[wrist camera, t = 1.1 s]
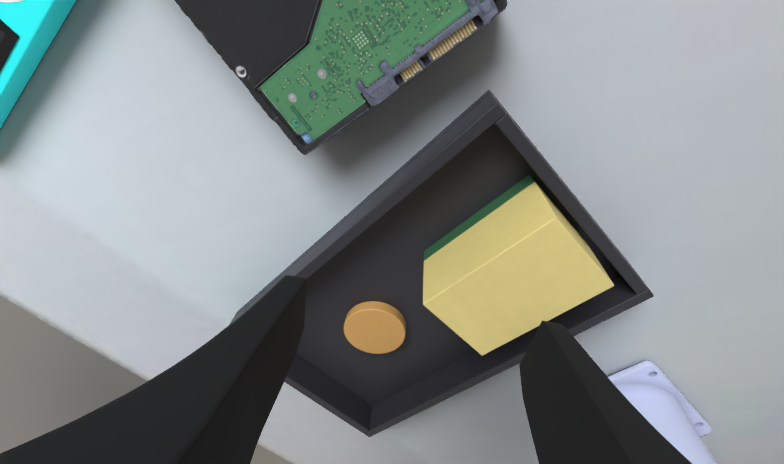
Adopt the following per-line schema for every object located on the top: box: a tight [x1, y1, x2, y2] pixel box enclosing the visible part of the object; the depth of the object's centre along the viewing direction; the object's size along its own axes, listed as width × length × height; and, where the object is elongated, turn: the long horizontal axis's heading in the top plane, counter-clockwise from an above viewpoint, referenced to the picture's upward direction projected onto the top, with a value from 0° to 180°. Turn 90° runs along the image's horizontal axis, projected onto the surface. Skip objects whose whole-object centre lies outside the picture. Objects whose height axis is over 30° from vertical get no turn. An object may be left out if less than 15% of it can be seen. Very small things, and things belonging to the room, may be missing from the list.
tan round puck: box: [344, 301, 406, 354], centre depth 24 cm, size 4×4×1 cm
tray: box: [230, 90, 653, 437], centre depth 23 cm, size 13×21×3 cm, turn 134°
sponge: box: [423, 174, 614, 356], centre depth 19 cm, size 4×7×4 cm, turn 134°
